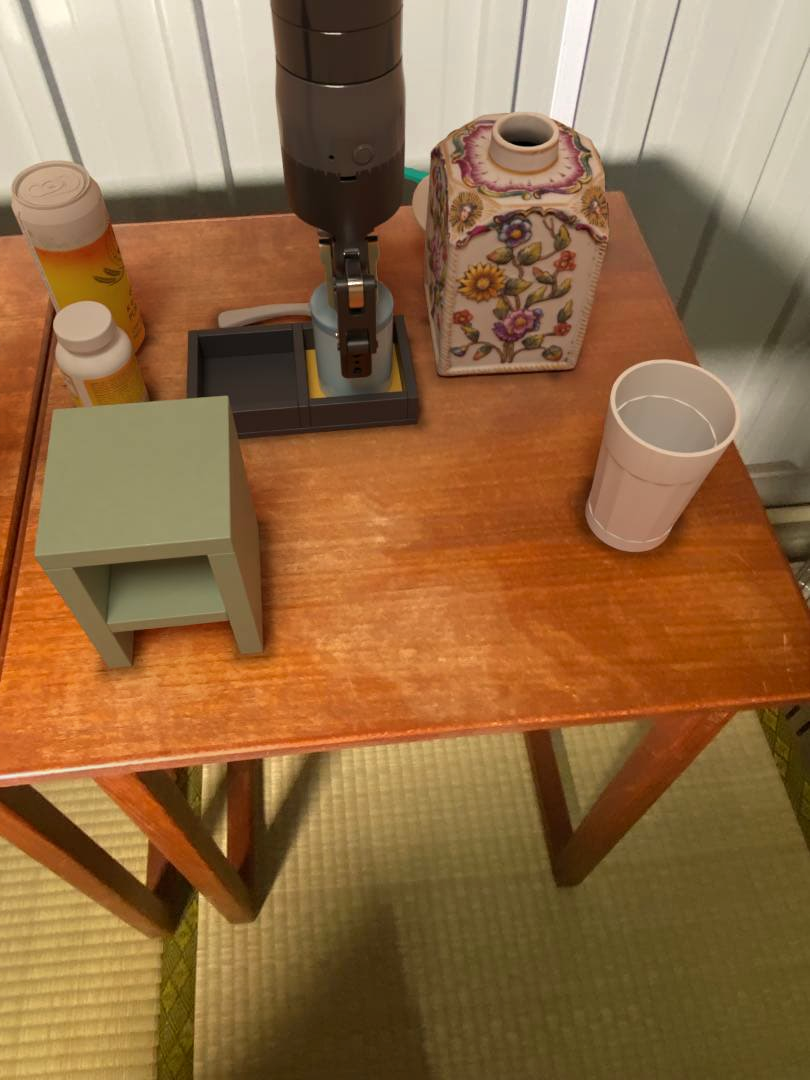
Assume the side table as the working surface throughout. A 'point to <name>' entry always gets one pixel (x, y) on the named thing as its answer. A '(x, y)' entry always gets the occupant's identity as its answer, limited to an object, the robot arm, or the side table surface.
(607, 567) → the side table surface
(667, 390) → the cup
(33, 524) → the side table surface
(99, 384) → the supplement bottle
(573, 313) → the decorative jar
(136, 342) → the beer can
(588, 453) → the side table surface
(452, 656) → the side table surface
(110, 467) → the shelf
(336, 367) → the blue grey cylinder
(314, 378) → the tray
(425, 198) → the beige rounded piece
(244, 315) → the spoon
